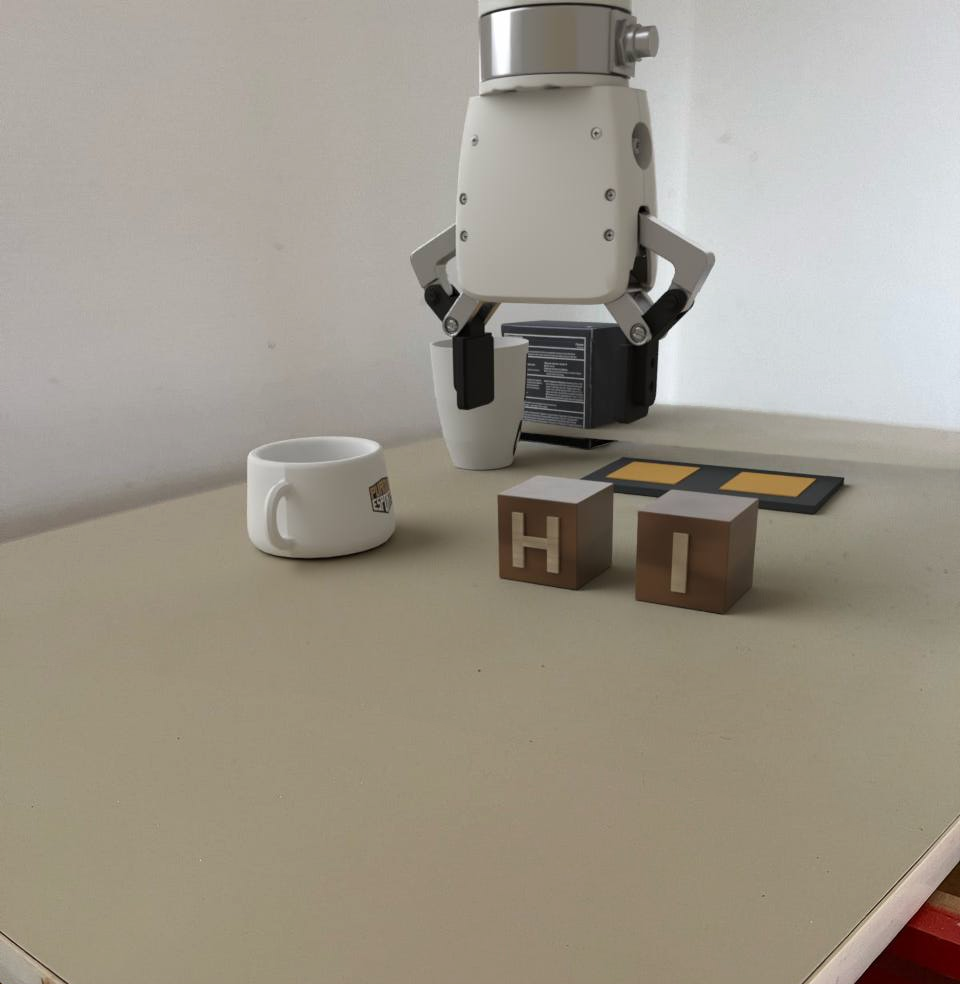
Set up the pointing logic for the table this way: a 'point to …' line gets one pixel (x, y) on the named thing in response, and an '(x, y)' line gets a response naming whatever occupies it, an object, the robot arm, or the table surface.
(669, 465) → the word mat
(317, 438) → the mug
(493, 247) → the robot arm
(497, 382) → the cup
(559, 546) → the letter h block
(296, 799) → the table surface
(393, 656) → the table surface
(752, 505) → the block
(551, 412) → the small box
